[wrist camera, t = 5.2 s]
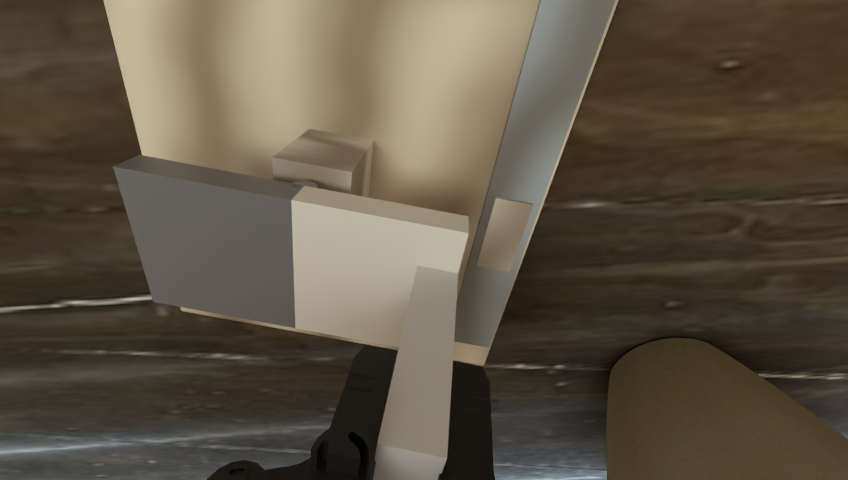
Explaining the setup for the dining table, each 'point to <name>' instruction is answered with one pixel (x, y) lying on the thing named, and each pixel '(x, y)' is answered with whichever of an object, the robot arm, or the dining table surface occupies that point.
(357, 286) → the rocker
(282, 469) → the robot arm
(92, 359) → the dining table surface
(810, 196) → the dining table surface
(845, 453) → the plant pot
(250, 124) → the switch console
